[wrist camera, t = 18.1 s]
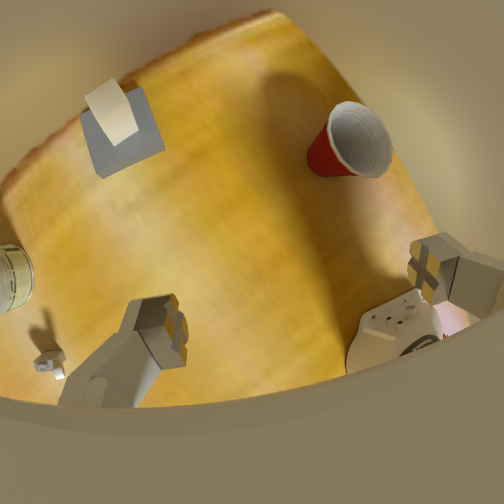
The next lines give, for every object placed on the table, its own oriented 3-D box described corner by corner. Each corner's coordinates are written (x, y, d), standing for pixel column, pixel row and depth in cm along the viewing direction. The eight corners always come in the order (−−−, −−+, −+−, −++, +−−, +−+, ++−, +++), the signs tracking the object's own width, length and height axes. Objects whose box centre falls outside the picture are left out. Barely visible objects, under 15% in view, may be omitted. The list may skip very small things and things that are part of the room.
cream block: (126, 110, 33) (113, 77, 25) (138, 130, 34) (127, 99, 25) (102, 125, 33) (83, 96, 24) (114, 146, 33) (96, 120, 24)
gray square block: (144, 98, 38) (142, 86, 34) (165, 151, 39) (163, 142, 35) (87, 124, 36) (79, 115, 32) (104, 179, 37) (96, 173, 33)
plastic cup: (360, 182, 46) (406, 168, 34) (307, 200, 43) (348, 187, 32) (337, 124, 44) (377, 96, 33) (282, 136, 42) (314, 104, 30)
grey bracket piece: (47, 361, 35) (26, 381, 27) (43, 351, 35) (22, 370, 27) (81, 358, 36) (63, 380, 29) (77, 348, 36) (59, 368, 28)
